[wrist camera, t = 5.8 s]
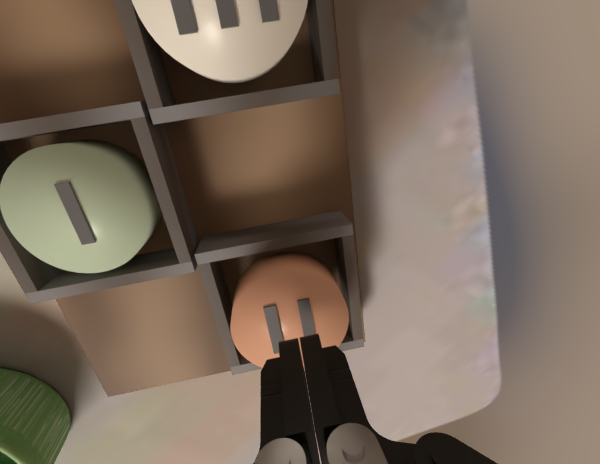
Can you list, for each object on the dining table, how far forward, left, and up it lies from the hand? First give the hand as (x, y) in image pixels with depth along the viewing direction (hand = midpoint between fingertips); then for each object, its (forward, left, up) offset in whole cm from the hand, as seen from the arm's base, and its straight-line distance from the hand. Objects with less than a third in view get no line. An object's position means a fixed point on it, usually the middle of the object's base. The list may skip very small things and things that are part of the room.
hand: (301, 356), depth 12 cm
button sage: (-7, +6, -5) cm, 11 cm away
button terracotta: (0, 0, -4) cm, 4 cm away
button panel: (-4, +6, -7) cm, 10 cm away
